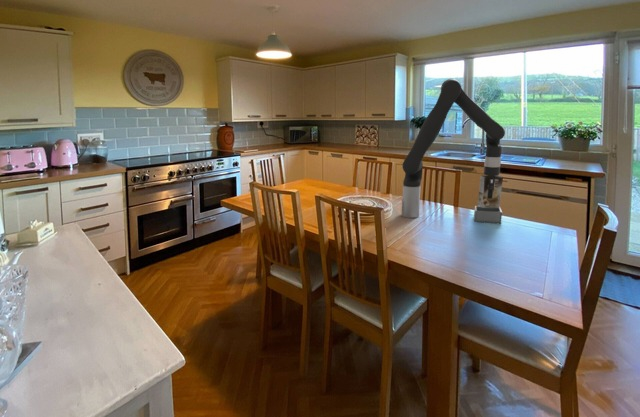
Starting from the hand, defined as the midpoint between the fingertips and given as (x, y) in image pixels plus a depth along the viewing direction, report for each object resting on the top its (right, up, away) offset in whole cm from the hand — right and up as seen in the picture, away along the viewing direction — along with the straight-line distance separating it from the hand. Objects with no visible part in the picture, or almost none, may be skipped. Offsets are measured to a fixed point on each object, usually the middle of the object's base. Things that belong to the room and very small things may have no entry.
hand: (489, 196), depth 200 cm
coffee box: (0, -5, +1) cm, 5 cm away
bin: (0, -12, +4) cm, 13 cm away
